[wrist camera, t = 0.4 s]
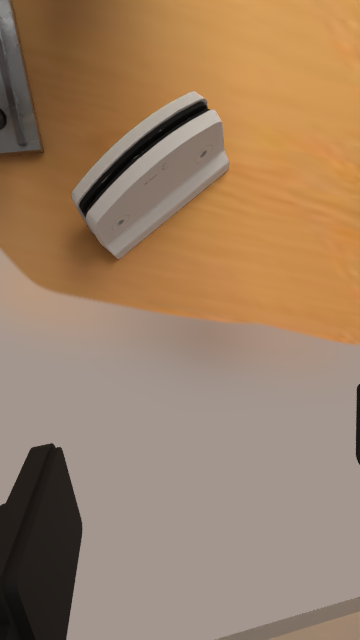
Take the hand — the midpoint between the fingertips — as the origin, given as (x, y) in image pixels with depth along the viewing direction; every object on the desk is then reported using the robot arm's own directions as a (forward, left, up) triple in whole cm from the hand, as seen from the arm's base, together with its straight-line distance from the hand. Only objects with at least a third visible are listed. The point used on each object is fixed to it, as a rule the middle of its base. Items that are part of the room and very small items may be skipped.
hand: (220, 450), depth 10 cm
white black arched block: (-12, +2, -30) cm, 32 cm away
